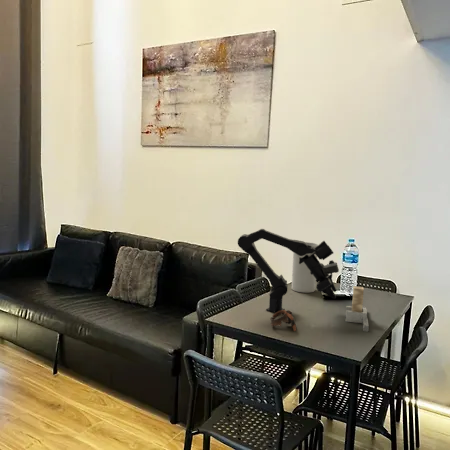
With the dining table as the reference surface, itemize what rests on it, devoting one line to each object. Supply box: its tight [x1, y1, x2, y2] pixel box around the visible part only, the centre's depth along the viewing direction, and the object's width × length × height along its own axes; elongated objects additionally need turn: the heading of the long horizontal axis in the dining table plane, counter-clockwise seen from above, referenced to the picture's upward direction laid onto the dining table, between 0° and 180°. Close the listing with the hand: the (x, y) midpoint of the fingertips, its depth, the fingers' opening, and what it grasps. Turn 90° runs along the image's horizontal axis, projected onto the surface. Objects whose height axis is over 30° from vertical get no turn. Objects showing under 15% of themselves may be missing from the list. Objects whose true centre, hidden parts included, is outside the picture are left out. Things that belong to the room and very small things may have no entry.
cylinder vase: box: [291, 241, 319, 294], centre depth 234 cm, size 12×12×25 cm
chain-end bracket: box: [345, 305, 370, 333], centre depth 188 cm, size 9×28×4 cm, turn 165°
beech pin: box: [351, 285, 365, 312], centre depth 188 cm, size 4×4×14 cm
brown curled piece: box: [269, 309, 297, 332], centre depth 175 cm, size 12×10×8 cm
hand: (335, 294), depth 193 cm, fingers open, 9 cm apart
